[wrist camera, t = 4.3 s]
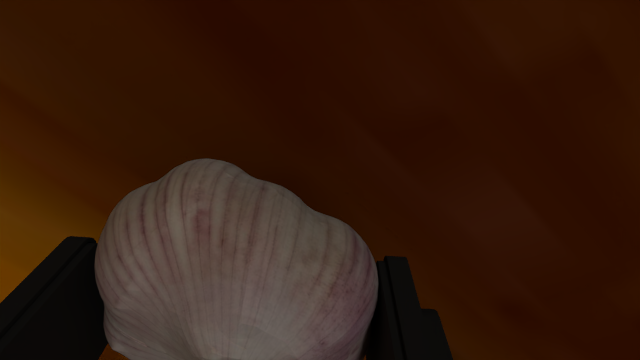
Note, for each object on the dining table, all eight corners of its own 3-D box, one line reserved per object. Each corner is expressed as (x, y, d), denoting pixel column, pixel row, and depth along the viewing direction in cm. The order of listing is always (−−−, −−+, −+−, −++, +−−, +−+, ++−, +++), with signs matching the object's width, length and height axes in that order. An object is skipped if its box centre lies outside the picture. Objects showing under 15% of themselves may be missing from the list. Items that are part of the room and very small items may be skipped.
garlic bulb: (391, 313, 14) (458, 684, 6) (193, 346, 15) (63, 700, 7) (342, 105, 10) (371, 398, 3) (89, 165, 11) (-323, 494, 4)
